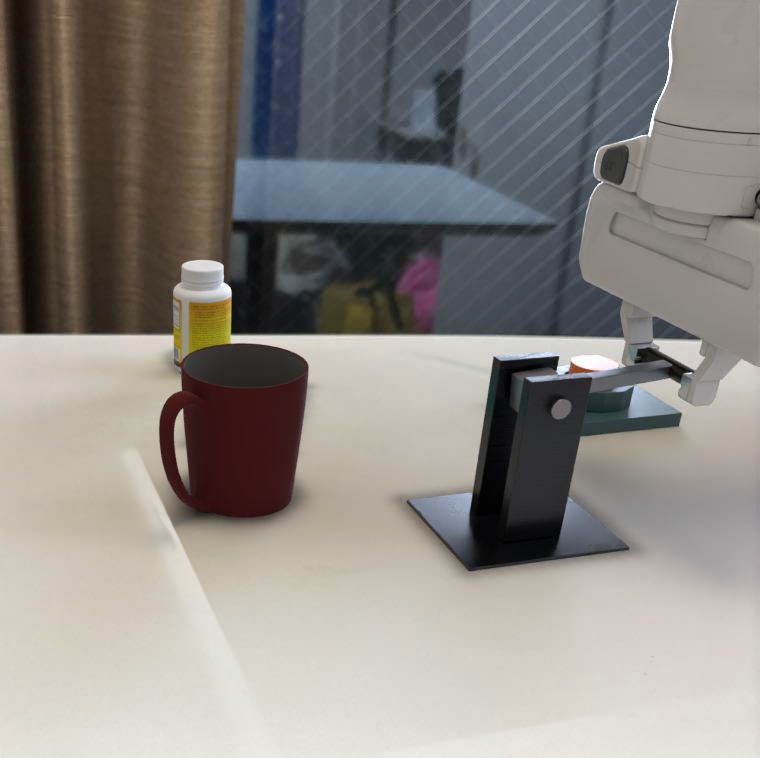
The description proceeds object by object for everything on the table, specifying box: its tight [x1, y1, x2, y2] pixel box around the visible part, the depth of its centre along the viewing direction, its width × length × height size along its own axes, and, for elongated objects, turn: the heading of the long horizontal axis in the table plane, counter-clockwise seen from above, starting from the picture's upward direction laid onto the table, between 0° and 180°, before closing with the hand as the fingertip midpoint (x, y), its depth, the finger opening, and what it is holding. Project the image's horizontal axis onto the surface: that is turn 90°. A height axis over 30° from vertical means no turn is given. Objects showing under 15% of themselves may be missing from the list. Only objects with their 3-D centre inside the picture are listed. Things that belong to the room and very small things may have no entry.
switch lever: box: [509, 348, 696, 412], centre depth 70 cm, size 12×5×2 cm, turn 105°
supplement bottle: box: [172, 259, 233, 373], centre depth 100 cm, size 6×6×10 cm
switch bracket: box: [406, 351, 630, 572], centre depth 71 cm, size 12×10×13 cm
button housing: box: [557, 364, 683, 437], centre depth 92 cm, size 12×10×4 cm
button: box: [568, 354, 620, 374], centre depth 90 cm, size 4×4×2 cm
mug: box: [158, 342, 310, 519], centre depth 74 cm, size 12×9×11 cm
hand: (664, 384), depth 71 cm, fingers closed on switch lever, 5 cm apart
